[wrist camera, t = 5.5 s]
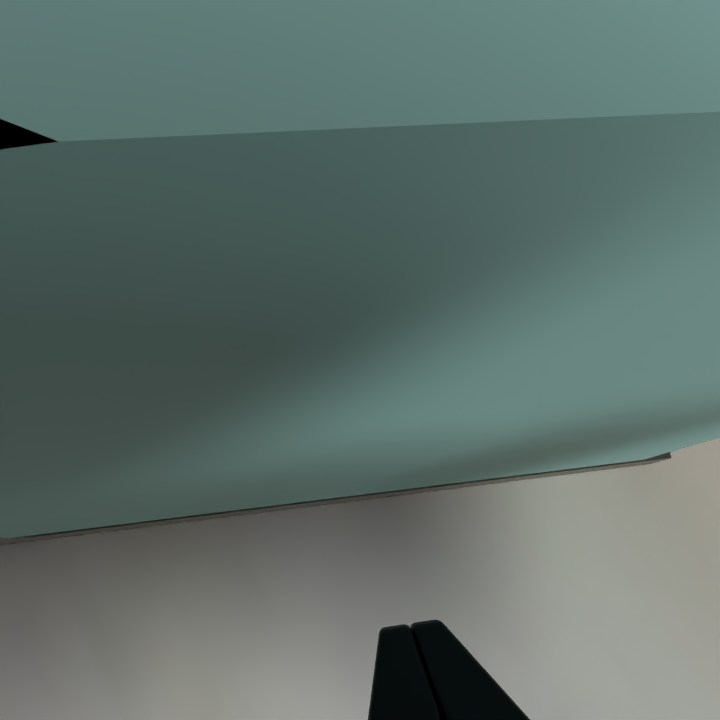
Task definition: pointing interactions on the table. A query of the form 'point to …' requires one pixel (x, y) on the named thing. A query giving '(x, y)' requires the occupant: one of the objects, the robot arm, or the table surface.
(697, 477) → the table surface
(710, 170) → the teal square panel
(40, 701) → the table surface
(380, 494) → the grey square frame stand
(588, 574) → the table surface
